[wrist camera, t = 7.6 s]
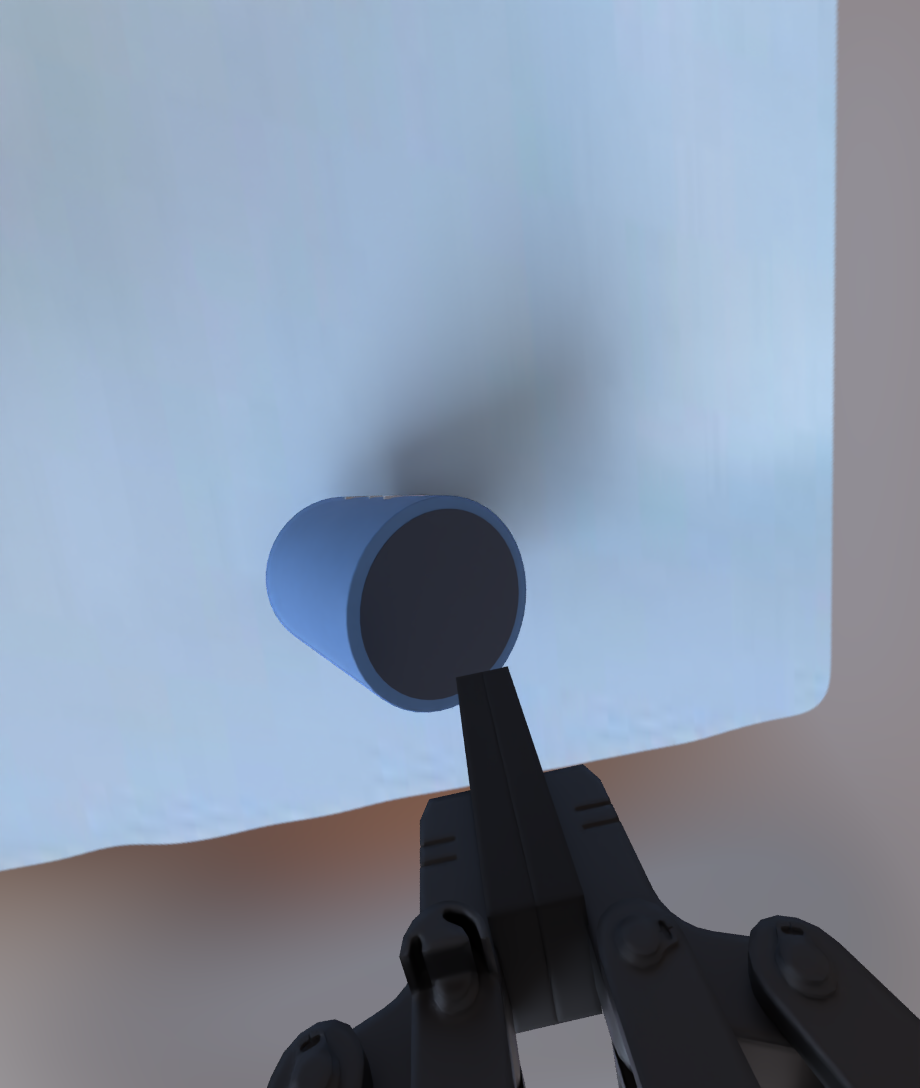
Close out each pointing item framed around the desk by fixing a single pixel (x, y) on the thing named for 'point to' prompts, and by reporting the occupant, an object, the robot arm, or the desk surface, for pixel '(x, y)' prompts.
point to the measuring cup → (400, 591)
